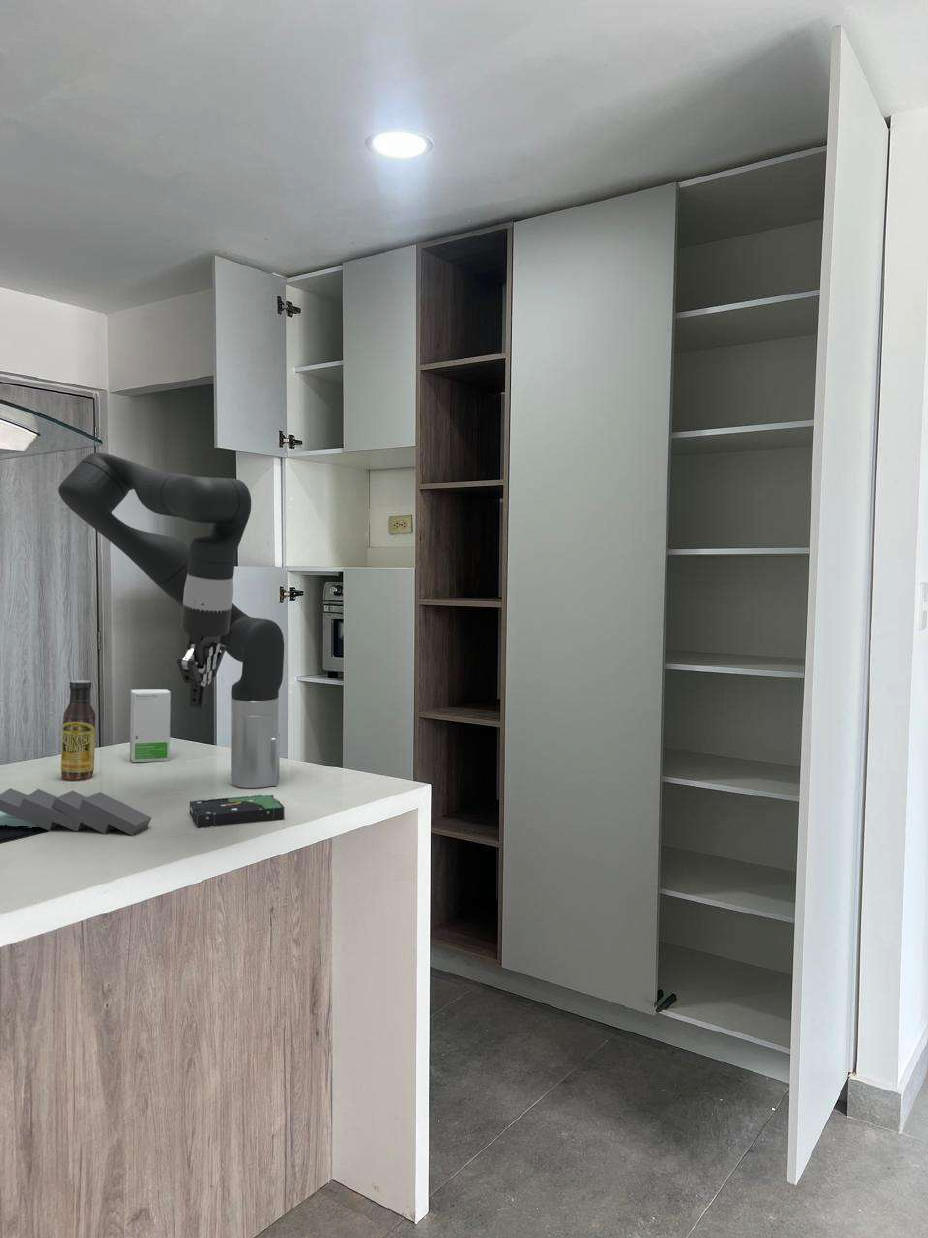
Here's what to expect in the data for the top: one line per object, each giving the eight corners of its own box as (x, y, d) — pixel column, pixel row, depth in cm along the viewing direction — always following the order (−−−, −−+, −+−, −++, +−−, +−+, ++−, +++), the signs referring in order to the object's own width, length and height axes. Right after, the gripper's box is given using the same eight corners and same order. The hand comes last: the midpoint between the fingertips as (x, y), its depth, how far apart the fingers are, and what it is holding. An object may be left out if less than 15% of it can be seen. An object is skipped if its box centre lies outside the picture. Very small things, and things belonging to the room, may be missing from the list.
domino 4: (124, 815, 152) (72, 790, 153) (108, 824, 147) (55, 797, 148) (120, 825, 152) (69, 800, 153) (104, 833, 147) (51, 807, 148)
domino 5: (151, 817, 151) (100, 792, 153) (135, 825, 146) (82, 799, 148) (147, 827, 151) (96, 801, 153) (131, 835, 146) (78, 809, 148)
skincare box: (131, 763, 200) (131, 693, 199) (129, 757, 206) (128, 689, 205) (171, 760, 203) (171, 691, 202) (167, 755, 209) (167, 687, 208)
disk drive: (197, 832, 151) (285, 822, 157) (197, 815, 151) (285, 806, 157) (188, 816, 161) (272, 807, 167) (188, 800, 161) (272, 792, 167)
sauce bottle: (57, 782, 182) (56, 682, 181) (65, 774, 188) (64, 679, 187) (91, 781, 183) (91, 682, 182) (98, 774, 189) (98, 678, 188)
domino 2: (55, 812, 155) (2, 808, 157) (36, 819, 150) (-18, 816, 152) (55, 822, 155) (2, 818, 157) (36, 830, 150) (-18, 826, 152)
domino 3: (93, 811, 153) (38, 788, 153) (81, 821, 148) (23, 798, 148) (90, 821, 153) (34, 798, 153) (77, 831, 148) (19, 808, 148)
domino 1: (66, 810, 153) (10, 788, 153) (53, 820, 148) (-5, 797, 148) (62, 820, 153) (6, 797, 153) (49, 830, 148) (-9, 807, 148)
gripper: (210, 614, 138) (200, 722, 142) (246, 600, 151) (236, 699, 155) (165, 605, 139) (155, 712, 143) (204, 592, 152) (195, 691, 156)
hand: (197, 705), depth 149 cm, fingers closed
